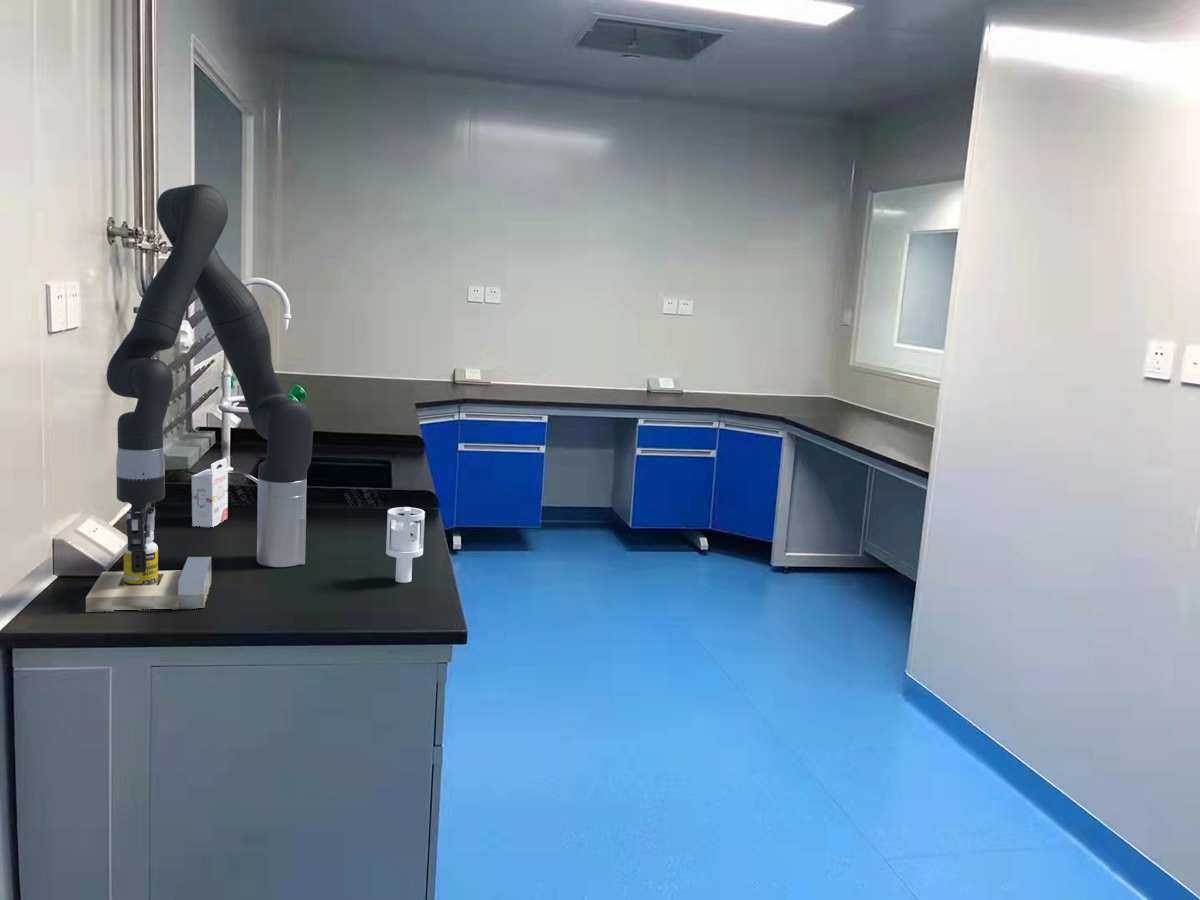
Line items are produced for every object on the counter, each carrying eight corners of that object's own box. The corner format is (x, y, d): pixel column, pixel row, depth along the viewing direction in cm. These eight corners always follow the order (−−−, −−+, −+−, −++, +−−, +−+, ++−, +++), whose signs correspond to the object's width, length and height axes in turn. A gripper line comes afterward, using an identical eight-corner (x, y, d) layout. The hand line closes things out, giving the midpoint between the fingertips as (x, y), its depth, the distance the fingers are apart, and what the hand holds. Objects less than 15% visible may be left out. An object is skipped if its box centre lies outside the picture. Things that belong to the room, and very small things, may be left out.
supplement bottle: (144, 592, 161) (143, 537, 159) (116, 588, 162) (116, 533, 160) (164, 583, 166) (164, 530, 164) (138, 579, 167) (137, 526, 165)
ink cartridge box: (207, 517, 216) (207, 455, 214) (228, 519, 216) (228, 457, 214) (190, 526, 208) (190, 462, 205) (212, 528, 208) (212, 463, 205)
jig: (211, 582, 172) (211, 556, 171) (203, 608, 159) (203, 580, 158) (102, 585, 166) (102, 558, 166) (86, 612, 153) (85, 583, 152)
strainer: (385, 586, 178) (388, 510, 175) (384, 574, 184) (387, 501, 182) (423, 585, 180) (426, 510, 177) (420, 574, 186) (423, 501, 184)
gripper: (158, 481, 155) (159, 579, 158) (170, 464, 168) (170, 554, 171) (108, 481, 152) (110, 580, 155) (124, 464, 166) (125, 555, 169)
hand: (141, 566), depth 163 cm, fingers closed on supplement bottle, 5 cm apart
